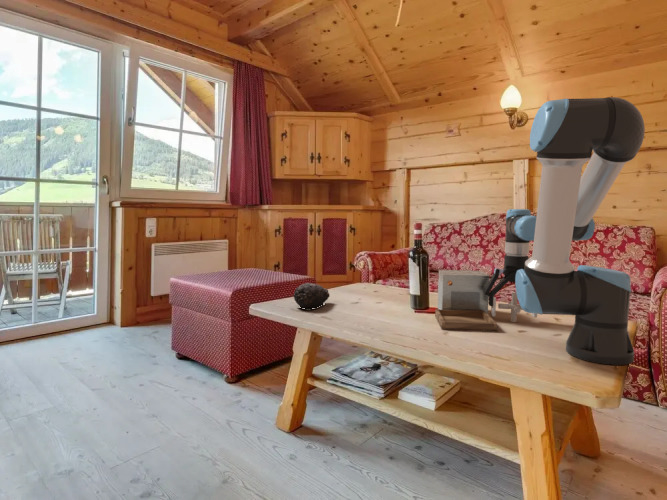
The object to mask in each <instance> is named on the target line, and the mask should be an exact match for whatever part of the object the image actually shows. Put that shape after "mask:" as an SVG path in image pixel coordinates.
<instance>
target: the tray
mask: <svg viewBox="0 0 667 500" xmlns="http://www.w3.org/2000/svg"><path fill="white" fill-rule="evenodd" d="M434 313H435V315H434V316H435V319H436V321H437V323H438V325H439V327H440V329H441V330H443V331H447V330H448V331H470V332H495V333H496V332H498V323H497V322H496V321H495V320H494V319H493V318H492V317H491V316H490V315H489V313H488V314H487V313H486V312H485V311H474V310H441V309H438V308H437V309H435V310H434Z"/></svg>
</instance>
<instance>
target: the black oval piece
mask: <svg viewBox="0 0 667 500" xmlns="http://www.w3.org/2000/svg"><path fill="white" fill-rule="evenodd" d="M329 297H330V292H329V289H328V288H324V286H322V285H320V284H317V283H311V282H306V283H302V284H300V285H299V286H298V287H295V290H294V293H293V298H294V301H295V303H296V304H297V305H298V307H299V306H300V307H301V308H305V309H312V308H317V307H319V306H321V305H323V303H326V301H328V300H329Z"/></svg>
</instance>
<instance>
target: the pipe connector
mask: <svg viewBox="0 0 667 500" xmlns="http://www.w3.org/2000/svg"><path fill="white" fill-rule="evenodd" d="M497 305H498V306H497V308H498V309H500V310H501V309H502V310H510V322H512V323H517V319H518V318H517V316H518V315H517V314H520V312H521V311H524V310H523V309H522V308H521V306H520V304H519V303H518V297H517V293H516V292H515V291H511V301H509V302H508V303H500V302H499V303H498V304H497Z"/></svg>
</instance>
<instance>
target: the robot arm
mask: <svg viewBox="0 0 667 500" xmlns="http://www.w3.org/2000/svg"><path fill="white" fill-rule="evenodd" d="M644 138H645V121H644V117H643V116H642V113H641V112H640V110H639V109H638V108H637V106H635V105H634V104H633V103H631V101H629V100H627V99H625V98H622V97H621V98H620V97H616V96H614V97H613V96H609V97H608V96H607V97H594V98H593V97H591V98H588V97H587V98H584V97H583V98H562V99H554V100H548V101H546V102H544V103H543V104H542V105H541V106H540V107H539V109H538V110H537V111H536V113H535V116H534V117H533V122H532V124H531V127H530V134H529V147H530V150H531V151H533V152H535V153H536V157H535V158H536V159H537V161H538V162H539V163H540V165H541V176H540V182H539V183H540V185H539V191H538V201H537V202H538V203H537V209H536V210H537V211H536V215H532V213H531V212H532V211H531V210H530V209H528V208H523V209H522V208H521V209H520V208H514V209H513V208H510V209H508V210H507V211H506V216H505V242H504V243H505V244H504V254H505V255H504V259H503V261H504V262H503V268H498V267H494V269H493V274H492V276H491V278H489V283H488V284H487V286H486V288H485V290H484V291H483V293H484V294H485V295H487V296H489V298H488V306H489V307H490V314H491V316H492V317H496V311H497V310H496V309H497V305H496V304H497V297H496V295H497V294H498V293H499V291H500V290H501V289H502V288H503V287H504V286H505V285H507V284H508V283H509V282H511V283H515V290H516V293H517V297H518V298H517V302H518V304H520V306H521V308H522V309H523V310H522V311H524V312H526V313H528V314H531V316H532V317H534V318H538V315H540V316H542V315H555V316H556V315H559V316H560V315H561V316H562V315H563V316H564V315H566V316H574V317H575V318H574V324H573V326H572V329H571V330H570V333H569V335H568V337H567V338H566V339H567V340H566V343H565V352H566V353H568V354H569V355H570V356H572V357H575V358H577V359H580V360H583V361H587V362H591V363H595V364H600V365H601V364H603V365H610V364H611V365H614V366H624V365H631V364H633V363H634V362H635V361H634V360H635V351H634V346H633V344H632V340H631V337H630V334H629V330H628V326H629V324H628V323H629V315H630V314H629V313H630V302H631V301H630V300H631V292H632V290H631V289H632V288H631V287H632V285H631V283H632V282H631V277H630V275H629V274H628V273H626V272H624V271H620V270H617V269H613V268H605V267H600V266H594V265H585V264H584V265H583V264H580V265H578V266H577V268H576V267H575V266H574V264H573V263H572V262H571V261H570V256H571V249H572V242H573V241H574V242H575V241H577V242H578V241H588V240H590V239H591V238H592V237H593V235H594V233H595V232H594V231H595V228H596V227H595V226H596V224H595V221H594V216H595V214H596V212H597V210H598V209H599V207H600V206H601V204H602V202H603V201H604V199H605V198H606V196H607V194H608V193H609V191H610V189H611V188H612V186H613V184H614V183H615V181H616V180H617V178H618V176H619V175H620V173H621V171H622V170H623V168H624V167H625V165H626V163H628V162H631V161H633V160H634V158H635V157H636V156H637V154H638V152H639V151H640V149H641V147H642V145H643V142H644V140H645V139H644ZM587 162H588V163H587ZM585 164H587V165H586V167H585V169H584V171H583V167H584V166H585ZM582 171H583V173H582ZM530 241H531V242H532V241H533V246H532V253H531V257H529V256H528V255H529V254H530ZM575 268H576V269H575ZM501 274H502V275H504V276H503V277H502V278H501V280H500V281H499V282H498V283H497V284H496V285H495V283H496V282H497V280H498V278H499V276H501ZM494 285H495V286H494ZM611 365H610V366H611Z"/></svg>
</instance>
